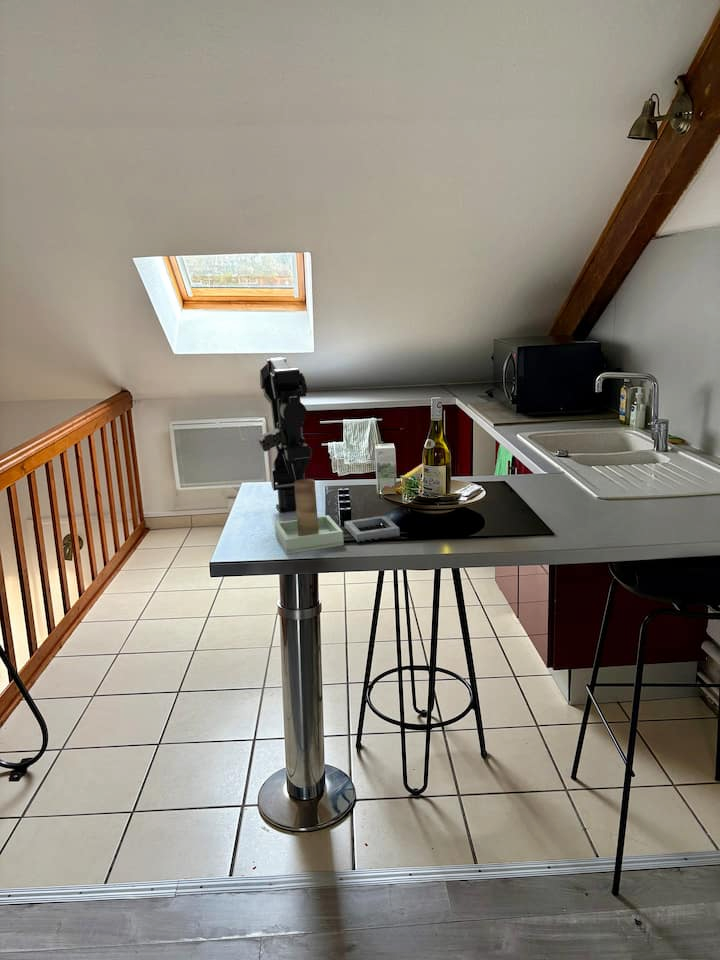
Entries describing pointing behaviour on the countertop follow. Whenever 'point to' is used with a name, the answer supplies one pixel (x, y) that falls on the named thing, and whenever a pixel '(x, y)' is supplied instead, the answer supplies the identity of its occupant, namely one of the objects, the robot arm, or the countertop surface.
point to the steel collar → (386, 532)
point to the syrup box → (385, 465)
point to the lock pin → (306, 507)
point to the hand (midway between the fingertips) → (294, 478)
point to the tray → (326, 538)
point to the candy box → (412, 474)
